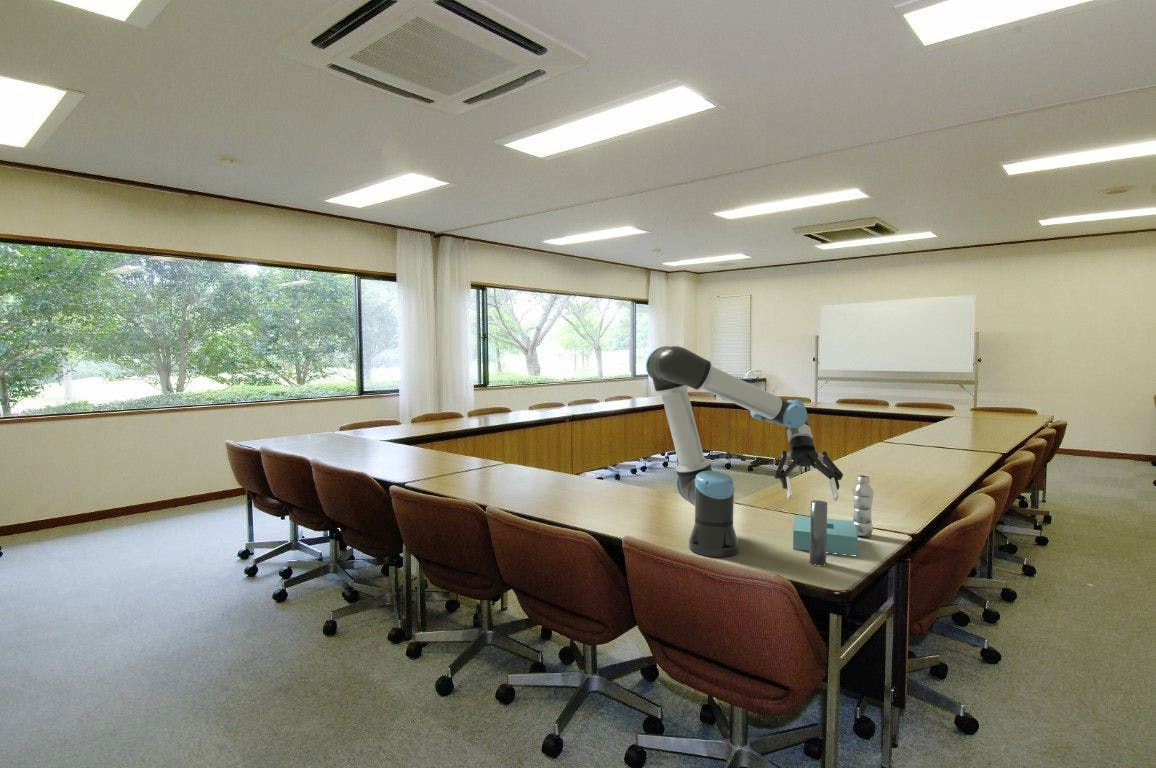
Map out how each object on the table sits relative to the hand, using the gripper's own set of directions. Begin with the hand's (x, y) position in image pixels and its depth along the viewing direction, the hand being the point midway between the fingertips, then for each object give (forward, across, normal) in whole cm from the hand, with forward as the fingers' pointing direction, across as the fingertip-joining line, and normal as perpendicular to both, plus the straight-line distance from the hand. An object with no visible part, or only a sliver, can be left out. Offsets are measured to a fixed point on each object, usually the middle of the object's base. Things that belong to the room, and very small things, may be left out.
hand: (813, 497), depth 175 cm
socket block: (+6, -6, -18) cm, 20 cm away
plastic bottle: (-1, -21, -25) cm, 33 cm away
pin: (+19, +1, -5) cm, 19 cm away
